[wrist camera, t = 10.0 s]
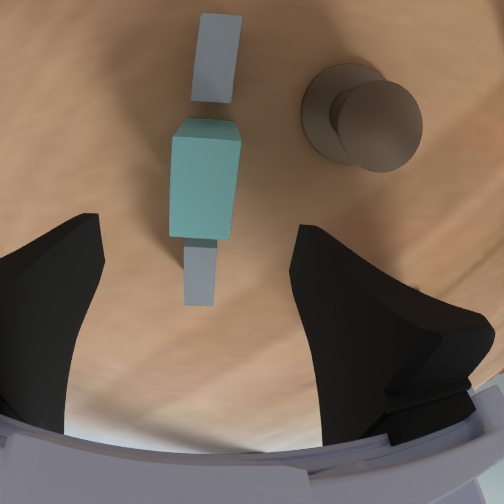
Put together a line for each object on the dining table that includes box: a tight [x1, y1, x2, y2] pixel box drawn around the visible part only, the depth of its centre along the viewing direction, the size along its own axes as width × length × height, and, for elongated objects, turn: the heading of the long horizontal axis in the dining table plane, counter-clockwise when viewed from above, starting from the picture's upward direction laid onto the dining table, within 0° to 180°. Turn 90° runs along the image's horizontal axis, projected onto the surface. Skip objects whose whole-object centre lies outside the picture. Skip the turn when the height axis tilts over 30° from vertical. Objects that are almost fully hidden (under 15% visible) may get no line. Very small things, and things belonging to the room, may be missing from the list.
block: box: [169, 118, 242, 240], centre depth 16 cm, size 5×3×6 cm, turn 172°
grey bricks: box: [184, 13, 243, 306], centre depth 17 cm, size 18×2×4 cm, turn 173°
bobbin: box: [301, 64, 423, 172], centre depth 16 cm, size 7×7×4 cm
